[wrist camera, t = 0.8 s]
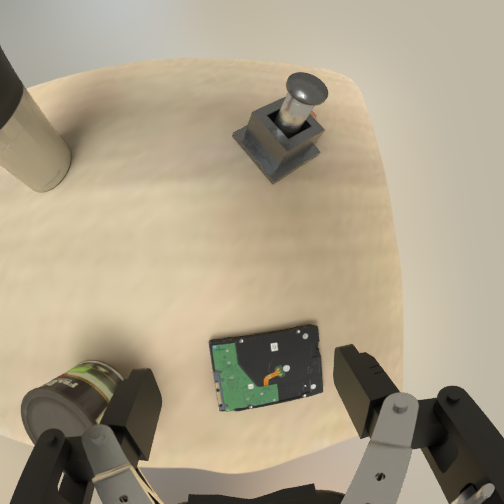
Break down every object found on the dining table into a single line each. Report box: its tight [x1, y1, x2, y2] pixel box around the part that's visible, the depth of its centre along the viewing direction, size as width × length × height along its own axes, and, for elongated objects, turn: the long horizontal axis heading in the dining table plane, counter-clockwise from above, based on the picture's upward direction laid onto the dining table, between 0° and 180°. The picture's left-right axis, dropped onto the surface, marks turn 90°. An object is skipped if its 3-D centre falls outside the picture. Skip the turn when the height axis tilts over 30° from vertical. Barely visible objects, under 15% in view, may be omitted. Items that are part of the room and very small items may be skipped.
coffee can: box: [21, 361, 124, 445], centre depth 24 cm, size 10×10×14 cm
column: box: [274, 72, 328, 139], centre depth 34 cm, size 5×5×13 cm
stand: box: [232, 97, 325, 185], centre depth 38 cm, size 10×10×7 cm
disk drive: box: [209, 325, 323, 412], centre depth 35 cm, size 10×3×15 cm
